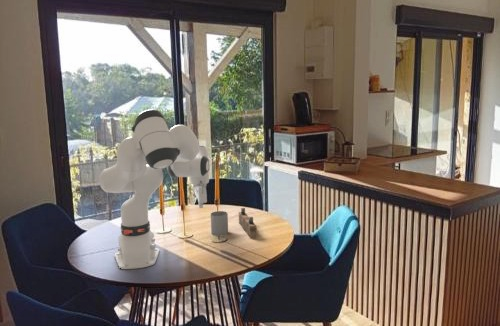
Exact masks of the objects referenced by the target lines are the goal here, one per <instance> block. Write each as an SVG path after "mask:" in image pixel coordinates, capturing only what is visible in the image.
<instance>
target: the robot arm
mask: <svg viewBox="0 0 500 326" xmlns="http://www.w3.org/2000/svg"><path fill="white" fill-rule="evenodd" d="M131 131H132V132H133V135H132V136H130V137H126V138H124V139H122V140H121V142H120V143H119V145H118V148H117V151H116V162H115V164H114V165H112V166H110V167H109V166H108V167H107V168H104V169H103V170H102V171H101V172H100V174H99V178H98V183H99V186H100V188H101V190H103V191H104V192H105V193H111V194H123V193H132V192H134V195H133V196H132V197H130V198H129V199H127V200H125V201H124V202H123V203H122V204H121V206H120V220H121V223H120V233H121V234H120V235H119V236H118V249H117V251H118V252H115V253H114V258H115V261H116V264H117V266H119V267H118V269H120V268H121V270H134V269H142V268H148V267H150V266H154V265H155V263H156V262H157V259H158V257H159V254H160V253H161V251H160V250H161V249H160V248H157V247H156V243H155V241H156V239H155V233H154V232H153V231H151V222H150V220H149V203H150V200H151V197H152V196H153V194H154V193H155V191H156V190H158V189H159V188H160V187H161V185H162V184H163V181H164V173H163V170H162V169H166V171H167V174H168V176H170V177H171V178H173V179H175V178H189V180H190V184H191V185H192V186H193V187H192V188H193V192H194V195H195V196H196V200H197V203H198V207H199V209H203V208H204V204H206V203H207V202H208V198H207V197H208V195H207V184H209V183H210V174H209V171H210V159H209V157H208V149H207V147H206V146H204V145H200V143H199V140H198V138H197V136H196V134H195V132H194V131H193V130H192V129H191V128H190V127H189V126H187V125H186V124H177V125H174V126H173V127H171V128H170V129H169V126H168V125H167V122H166V119H165V116H164V115H163V114H162V112H161V111H159V110H157V109H152V108H151V109H147V110H146V109H145V110H144V111H141V112H140V113H139V114H138V115H137V117H136V118H135V120H134V124H133V126H132V127H131Z"/></svg>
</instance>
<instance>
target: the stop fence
mask: <svg viewBox="0 0 500 326" xmlns="http://www.w3.org/2000/svg"><path fill="white" fill-rule="evenodd" d="M238 224H239V225H240V227H241V228H242V229H243V231H244V232H245V233H246V235H247V236H248V237H249V239H257V224H255V223H254V217H253V216H249V215H248V214H247V213H246V207H245V208H244V207H241V208H240V211H238Z"/></svg>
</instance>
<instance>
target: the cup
mask: <svg viewBox="0 0 500 326" xmlns="http://www.w3.org/2000/svg"><path fill="white" fill-rule="evenodd" d="M228 213H229V212H227V211H223V210H217V211H212V212H210V231H211V232H210V235H212V236H215V237H223V236H227V235H228V234H229V221H228V220H229V219H228V217H229V215H228Z"/></svg>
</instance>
